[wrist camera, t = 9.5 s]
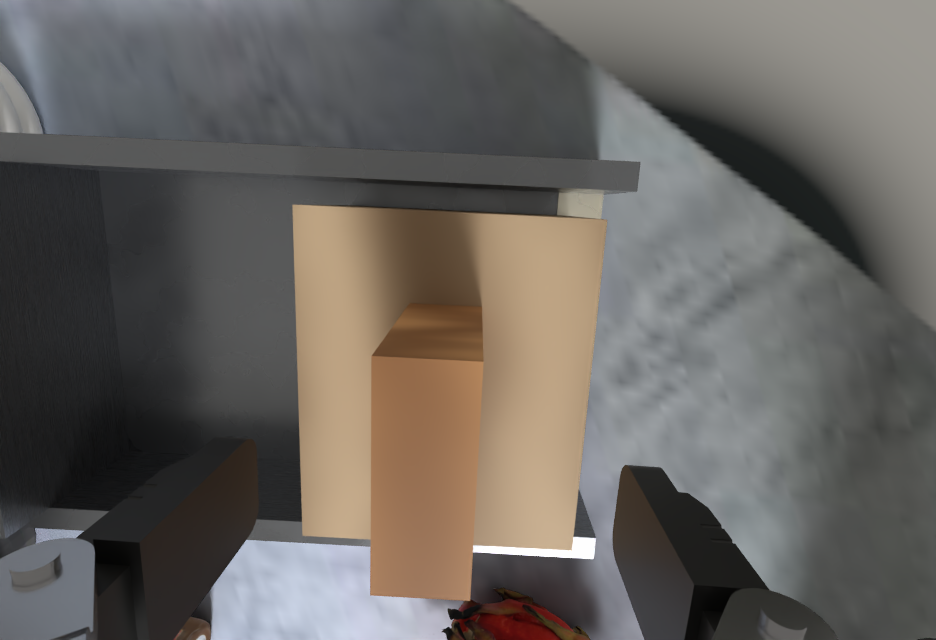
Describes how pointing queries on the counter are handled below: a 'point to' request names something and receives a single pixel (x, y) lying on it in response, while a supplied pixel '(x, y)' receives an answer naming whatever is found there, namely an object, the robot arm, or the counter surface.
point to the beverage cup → (17, 540)
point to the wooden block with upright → (442, 383)
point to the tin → (194, 630)
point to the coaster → (16, 106)
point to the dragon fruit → (509, 621)
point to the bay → (196, 304)
